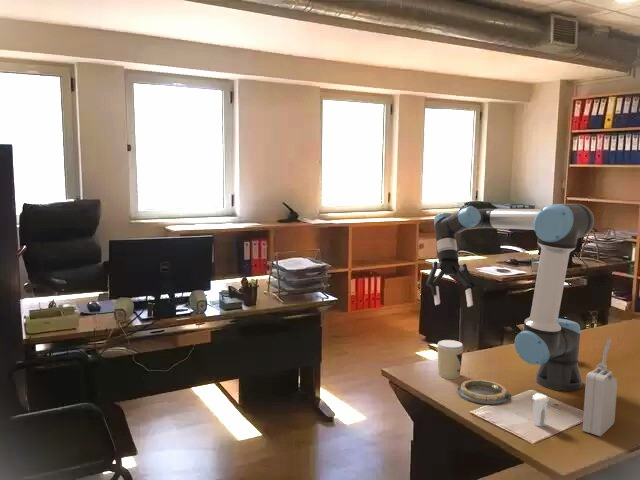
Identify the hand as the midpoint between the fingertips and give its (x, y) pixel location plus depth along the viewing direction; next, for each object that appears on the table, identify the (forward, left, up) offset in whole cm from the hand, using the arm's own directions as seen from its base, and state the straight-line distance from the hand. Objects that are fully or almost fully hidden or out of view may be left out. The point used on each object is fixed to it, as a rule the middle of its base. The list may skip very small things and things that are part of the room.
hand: (454, 305), depth 204 cm
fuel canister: (-49, +27, -25) cm, 61 cm away
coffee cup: (0, +5, -25) cm, 26 cm away
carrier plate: (-14, +18, -25) cm, 34 cm away
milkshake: (-32, +34, -25) cm, 53 cm away
